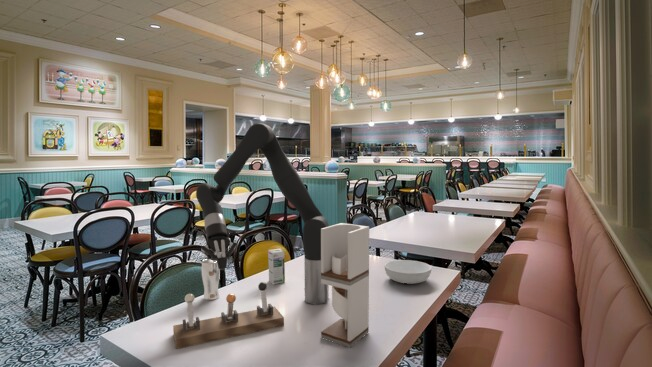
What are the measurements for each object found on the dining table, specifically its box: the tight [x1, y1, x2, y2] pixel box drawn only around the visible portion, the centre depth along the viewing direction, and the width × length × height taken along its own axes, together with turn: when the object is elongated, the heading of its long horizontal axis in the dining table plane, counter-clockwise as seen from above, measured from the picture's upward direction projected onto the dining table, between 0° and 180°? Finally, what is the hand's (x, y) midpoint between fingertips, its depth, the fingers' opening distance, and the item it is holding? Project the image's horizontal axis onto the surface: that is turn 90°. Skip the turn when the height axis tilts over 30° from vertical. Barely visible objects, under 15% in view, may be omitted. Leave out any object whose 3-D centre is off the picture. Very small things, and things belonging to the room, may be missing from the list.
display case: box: [320, 222, 370, 349], centre depth 120 cm, size 11×11×35 cm
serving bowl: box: [384, 259, 433, 285], centre depth 172 cm, size 21×21×7 cm
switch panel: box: [172, 303, 285, 350], centre depth 125 cm, size 34×10×6 cm, turn 116°
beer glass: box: [201, 258, 221, 301], centre depth 153 cm, size 7×7×15 cm
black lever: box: [257, 281, 269, 314], centre depth 131 cm, size 3×3×11 cm
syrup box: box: [267, 248, 286, 285], centre depth 171 cm, size 6×6×14 cm
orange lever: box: [225, 293, 237, 321], centre depth 123 cm, size 3×3×11 cm
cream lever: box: [184, 293, 196, 329], centre depth 121 cm, size 3×3×11 cm
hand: (222, 268), depth 133 cm, fingers closed
